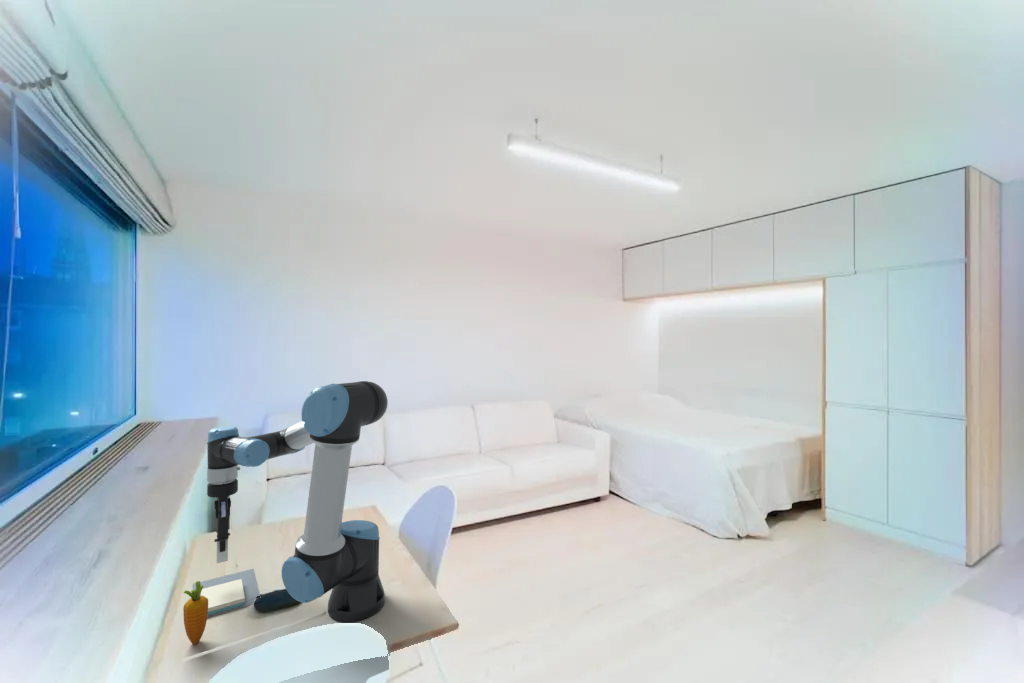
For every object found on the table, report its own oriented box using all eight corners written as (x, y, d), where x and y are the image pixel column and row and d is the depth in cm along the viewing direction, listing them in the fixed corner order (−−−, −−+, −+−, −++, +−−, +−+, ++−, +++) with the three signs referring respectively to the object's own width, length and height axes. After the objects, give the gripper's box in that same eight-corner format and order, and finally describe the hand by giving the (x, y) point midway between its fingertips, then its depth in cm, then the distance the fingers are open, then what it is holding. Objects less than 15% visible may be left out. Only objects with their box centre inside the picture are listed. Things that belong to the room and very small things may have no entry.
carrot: (195, 653, 106) (196, 590, 106) (177, 650, 107) (178, 588, 107) (212, 639, 111) (213, 579, 111) (195, 637, 112) (196, 577, 112)
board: (241, 585, 134) (244, 605, 124) (200, 596, 128) (201, 617, 118) (241, 578, 134) (244, 597, 124) (200, 589, 128) (201, 610, 118)
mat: (261, 603, 126) (261, 601, 126) (191, 624, 117) (191, 621, 117) (253, 570, 144) (253, 568, 144) (192, 585, 135) (192, 583, 135)
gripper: (239, 484, 127) (238, 566, 127) (236, 472, 138) (235, 549, 138) (207, 489, 123) (206, 574, 123) (207, 477, 133) (206, 555, 133)
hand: (222, 560), depth 130 cm, fingers closed
